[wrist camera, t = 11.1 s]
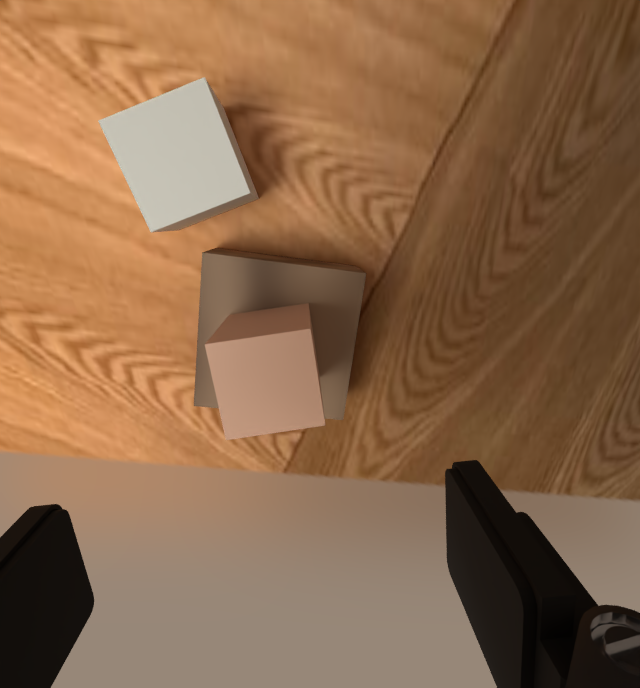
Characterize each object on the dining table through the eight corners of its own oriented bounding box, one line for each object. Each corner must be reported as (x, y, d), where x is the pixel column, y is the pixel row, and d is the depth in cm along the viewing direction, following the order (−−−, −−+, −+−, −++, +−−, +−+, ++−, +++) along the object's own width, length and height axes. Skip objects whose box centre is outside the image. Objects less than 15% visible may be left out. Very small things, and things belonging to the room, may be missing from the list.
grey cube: (223, 107, 28) (204, 77, 22) (259, 198, 29) (250, 192, 24) (138, 141, 28) (98, 120, 22) (178, 230, 30) (150, 232, 24)
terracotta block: (308, 303, 27) (310, 328, 20) (319, 377, 28) (325, 425, 21) (229, 314, 27) (204, 344, 20) (244, 388, 28) (226, 439, 21)
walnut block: (355, 265, 31) (366, 273, 26) (336, 392, 34) (342, 420, 29) (217, 247, 30) (202, 252, 26) (208, 379, 33) (193, 405, 28)
